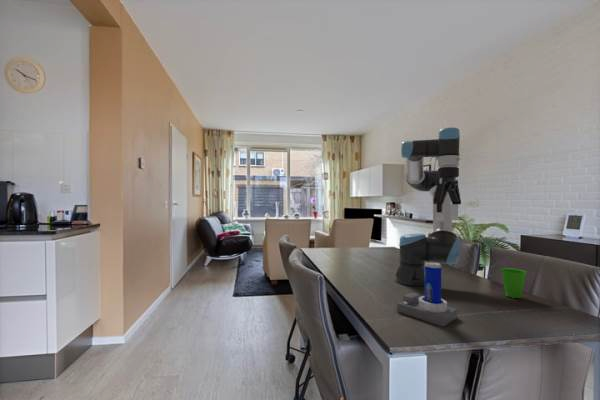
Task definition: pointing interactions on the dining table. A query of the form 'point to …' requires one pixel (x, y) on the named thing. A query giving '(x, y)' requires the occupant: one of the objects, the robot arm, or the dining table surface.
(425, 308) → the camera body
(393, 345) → the dining table surface
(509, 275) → the cup
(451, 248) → the robot arm
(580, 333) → the dining table surface
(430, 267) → the beverage can
